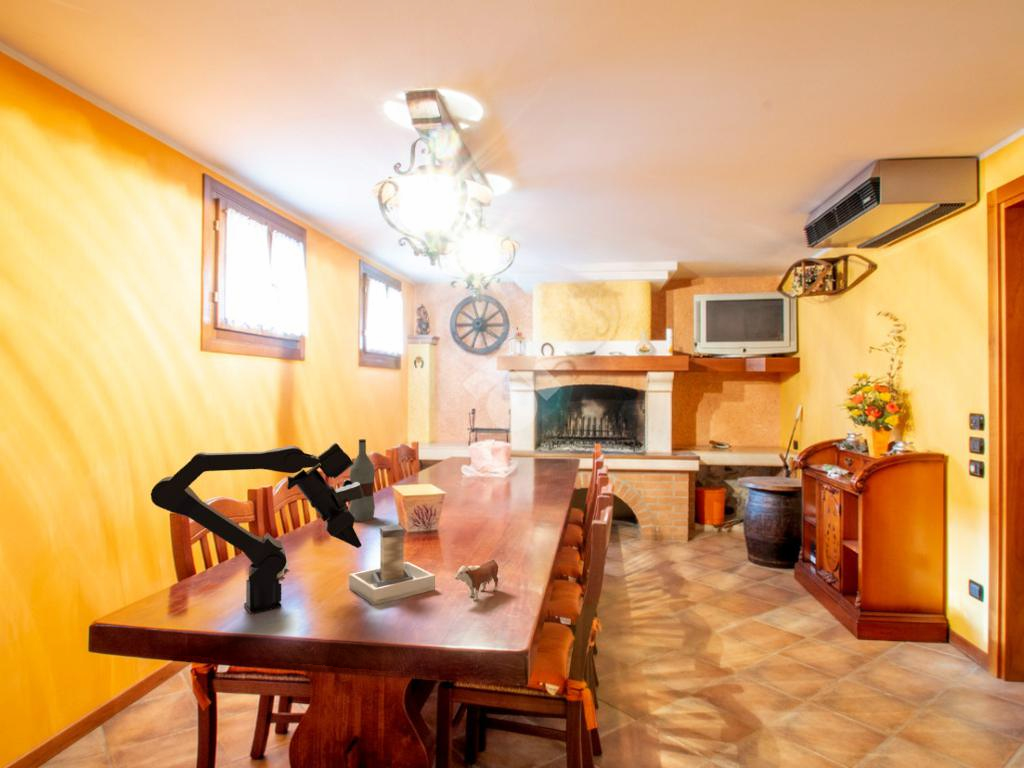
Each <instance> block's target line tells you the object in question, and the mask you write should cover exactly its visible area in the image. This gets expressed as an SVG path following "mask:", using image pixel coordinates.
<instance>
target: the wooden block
mask: <svg viewBox="0 0 1024 768" xmlns="http://www.w3.org/2000/svg"><path fill="white" fill-rule="evenodd" d="M379 534H380V537H379V538H380V543H379V545H380V548H379V549H380V553H379V554H380V556H379V557H380V563H379V564H380V565H379V566H380V567H379V568H380V581H384V580H392V579H399V578H404V559H405V558H404V556H405V555H404V553H405V552H404V550H405V549H404V546H405V545H404V543H405V542H404V541H405V540H404V538H405V537H404V536H405V529H404V527H403V526H402V525H401V524H392V525H384V526H383V525H382V526H379Z"/></svg>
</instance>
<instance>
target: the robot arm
mask: <svg viewBox="0 0 1024 768" xmlns="http://www.w3.org/2000/svg"><path fill="white" fill-rule="evenodd" d="M353 462H354V461H353V460H352V459H351V458H350V456H349V454H347V453H346V452H345V451H344V450H343V448H341V446H340V445H339V444H338V443H337V442H334V443H333V444H331V445H330V447H329V448H327V449H326V450H325V451H323V452H322V453H321V454H319V455H314V454H309V453H306V452H305V451H304V450H303V449H301V447H298V446H296V445H287V446H282V447H277V448H272V449H270V450H269V449H268V450H264V451H247V452H246V451H245V452H243V451H242V452H241V451H239V452H209V453H208V452H198V453H196V454H195V455H194V456H192V458H191V459H190V460H189V462H187V463H185V465H184V466H182V467H181V468H180V469H179V470H178V471H177V472H176V473H175V474H173V476H172V475H171V476H167V477H166V476H165V477H163V478H161V479H160V480H159V481H158V482H157V483H156V484H155V485H154V486H153V488H152V489H151V492H150V499H151V501H152V503H153V504H154V505H155V506H156V507H159V508H161V509H163V510H166V511H168V512H170V513H173V514H177V515H180V516H184V517H186V518H189V519H191V520H192V521H194V522H195V523H197V524H198V525H200V526H202V527H203V528H204V529H206V530H208V531H209V532H211V533H213V534H214V535H216V536H217V537H219V538H220V539H222V540H223V541H225V542H227V543H228V544H230V545H231V546H233V547H234V548H236V549H238V550H239V551H241V552H243V553H242V554H245V556H246V557H247V558H248V560H249V561H250V562H251V563H250V565H249V567H248V579H246V580H245V581H246V586H245V588H246V590H245V594H246V595H245V596H246V597H245V599H246V600H245V602H244V604H243V606H244V607H245V608H246V609H247V610H248V612H249V613H250V614H256V613H261V612H265V611H268V610H273V609H277V608H281V607H282V603H281V602H282V583H281V582H280V577H278V576H277V575H278V573H280V572H281V571H282V570H283V569H284V567H285V566H286V562H287V561H286V559H287V555H286V550H285V548H284V546H283V544H282V540H277V539H276V538H275V537H273V536H272V535H271V534H269V532H266V533H265V535H264V537H262V536H258V535H257V534H256V535H255V534H254V533H252V532H251V531H249V530H247V529H246V528H244V527H243V526H242V525H239V524H238V523H237V522H235V521H234V520H232V519H231V518H229V517H228V516H226V515H224V514H222V512H220V511H218V510H217V509H215V508H214V507H212V506H210V505H209V504H208V503H206V502H204V501H203V500H202V499H201V498H200V497H199V496H198V495H197V494H196V493H195V491H194V490H193V489H192V488H191V487H190V486H191V485H192V484H193V483H194V482H195V481H196V480H197V479H198V478H199V477H200V476H202V474H203V473H205V472H217V471H218V472H220V471H222V472H223V471H242V470H243V471H245V470H248V471H250V470H268V471H272V472H277V473H278V472H279V473H287V474H295V475H294V476H289V475H288V476H287V481H286V483H287V484H286V489H287V490H291V489H293V488H294V487H295V486H296V487H297V488H298V489H299V490H300V492H301V493H302V495H303V496H304V498H305V499H306V500H307V501H308V503H309V504H310V506H311V508H313V509H314V511H316V512H317V514H319V516H320V519H321V520H322V521H323V522H325V526H324V527H325V531H326V532H327V533H328V534H329V535H330V536H331V537H332V538H336V539H338V540H340V541H342V542H344V543H347V544H348V545H350V546H351V547H355V548H356V549H359V548H361V547H362V543H361V541H360V539H359V536H358V534H357V533H356V530H355V529H354V525H355V522H356V521H355V518H354V516H353V515H352V513H351V512H350V508H349V506H348V504H347V503H350V501H352V500H355V499H360V498H363V497H364V496H363V492H362V489H361V485H360V483H359V482H355V483H353V482H352V481H351V480H350V478H347V479H344V480H343V482H342V486H339V488H338V487H337V488H336V489H335V488H334V487H333V485H329V482H328V481H326V479H325V478H324V477H323V475H322V474H321V473H320V472H319V470H318V469H320V470H321V471H322V473H323V474H324V475H325V477H326V478H327V479H332V478H333V479H336V478H338V477H339V476H340V475H342V474H343V473H345V472H346V471H347V470H350V469H351V466H353V465H354V463H353ZM308 468H309V469H308ZM305 469H308V470H305ZM296 473H297V474H296Z"/></svg>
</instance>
